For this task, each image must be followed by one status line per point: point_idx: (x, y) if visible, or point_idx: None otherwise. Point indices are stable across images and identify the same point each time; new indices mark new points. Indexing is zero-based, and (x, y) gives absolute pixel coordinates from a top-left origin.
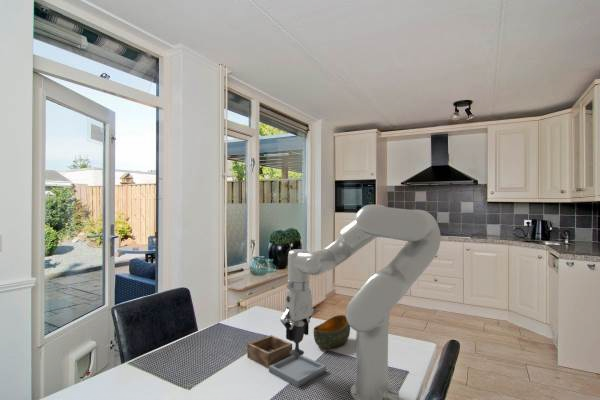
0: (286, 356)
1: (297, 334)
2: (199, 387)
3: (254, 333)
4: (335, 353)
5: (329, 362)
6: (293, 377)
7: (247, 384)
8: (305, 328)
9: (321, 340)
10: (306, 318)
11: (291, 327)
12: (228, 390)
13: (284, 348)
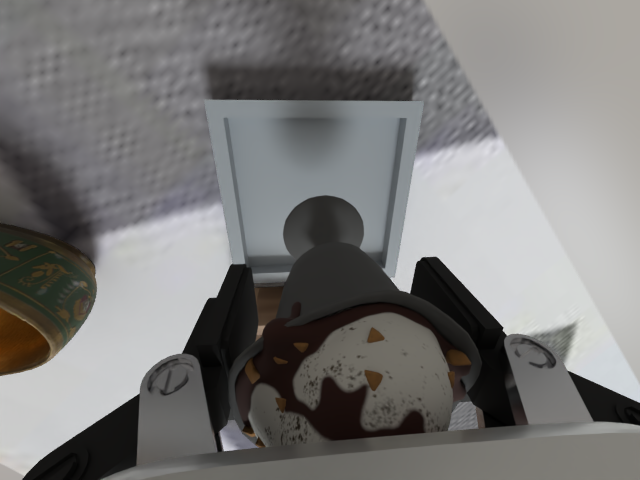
0: (279, 294)
1: (390, 281)
2: (558, 317)
3: (240, 444)
4: (42, 191)
5: (133, 150)
6: (409, 143)
7: (489, 251)
8: (243, 317)
9: (63, 277)
10: (213, 439)
11: (533, 358)
12: (542, 262)
13: None
